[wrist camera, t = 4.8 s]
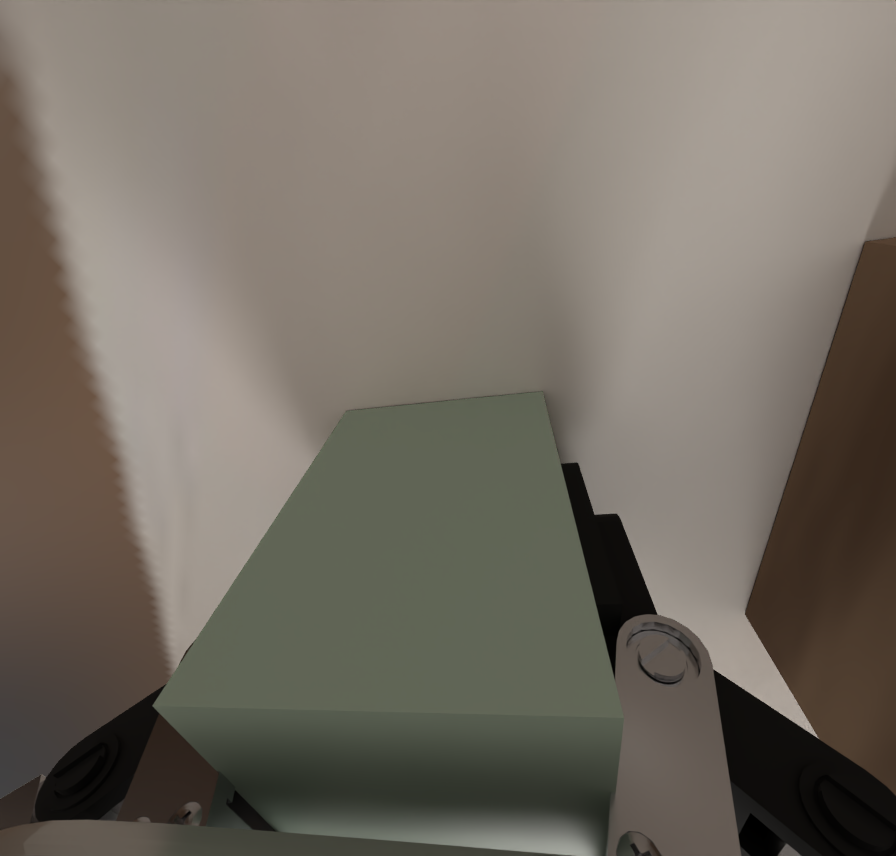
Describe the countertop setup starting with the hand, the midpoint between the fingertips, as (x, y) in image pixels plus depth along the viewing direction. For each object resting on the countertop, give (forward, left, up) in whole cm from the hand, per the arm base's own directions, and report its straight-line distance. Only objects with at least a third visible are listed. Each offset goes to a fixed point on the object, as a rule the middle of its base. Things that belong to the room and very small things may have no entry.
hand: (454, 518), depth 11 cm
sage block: (0, 0, -1) cm, 1 cm away
